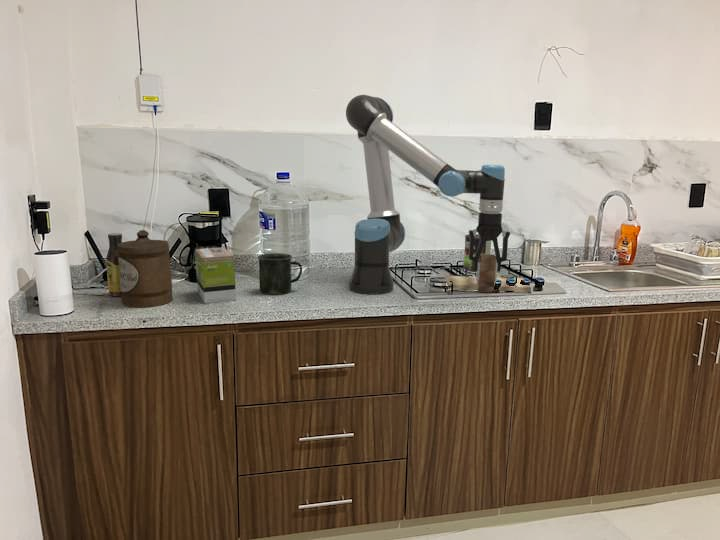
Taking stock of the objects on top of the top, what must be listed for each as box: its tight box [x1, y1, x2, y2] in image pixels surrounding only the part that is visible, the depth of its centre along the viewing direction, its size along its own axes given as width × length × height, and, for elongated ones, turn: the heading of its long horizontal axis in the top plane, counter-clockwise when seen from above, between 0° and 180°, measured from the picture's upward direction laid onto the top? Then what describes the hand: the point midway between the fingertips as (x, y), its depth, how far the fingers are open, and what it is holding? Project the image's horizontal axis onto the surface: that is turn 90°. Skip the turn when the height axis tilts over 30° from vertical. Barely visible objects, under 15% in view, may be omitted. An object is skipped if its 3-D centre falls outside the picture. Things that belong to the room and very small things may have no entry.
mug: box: [257, 252, 303, 296], centre depth 187 cm, size 11×15×12 cm
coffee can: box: [463, 233, 492, 272], centre depth 222 cm, size 10×10×14 cm
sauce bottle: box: [105, 232, 123, 297], centre depth 179 cm, size 6×6×20 cm
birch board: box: [444, 275, 532, 294], centre depth 198 cm, size 28×14×2 cm, turn 86°
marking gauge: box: [477, 254, 497, 293], centre depth 194 cm, size 5×13×12 cm, turn 176°
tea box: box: [194, 246, 237, 304], centre depth 179 cm, size 15×10×15 cm
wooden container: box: [117, 229, 174, 308], centre depth 172 cm, size 15×15×22 cm
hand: (486, 280), depth 191 cm, fingers closed on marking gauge, 5 cm apart
